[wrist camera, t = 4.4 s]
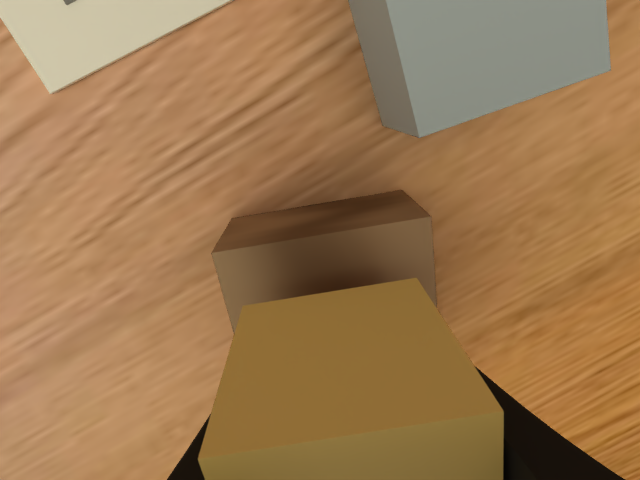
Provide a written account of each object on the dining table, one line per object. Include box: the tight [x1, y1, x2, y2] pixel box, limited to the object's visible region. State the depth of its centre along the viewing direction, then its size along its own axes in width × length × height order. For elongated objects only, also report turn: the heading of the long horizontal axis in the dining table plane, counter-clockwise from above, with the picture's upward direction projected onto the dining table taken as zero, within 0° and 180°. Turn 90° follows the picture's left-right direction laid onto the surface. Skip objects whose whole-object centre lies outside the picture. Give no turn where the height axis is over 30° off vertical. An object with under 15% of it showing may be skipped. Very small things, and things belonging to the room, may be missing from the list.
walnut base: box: [211, 190, 437, 334], centre depth 15 cm, size 7×7×4 cm
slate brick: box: [348, 0, 611, 138], centre depth 11 cm, size 5×5×5 cm
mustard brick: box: [198, 278, 504, 480], centre depth 9 cm, size 5×5×5 cm
